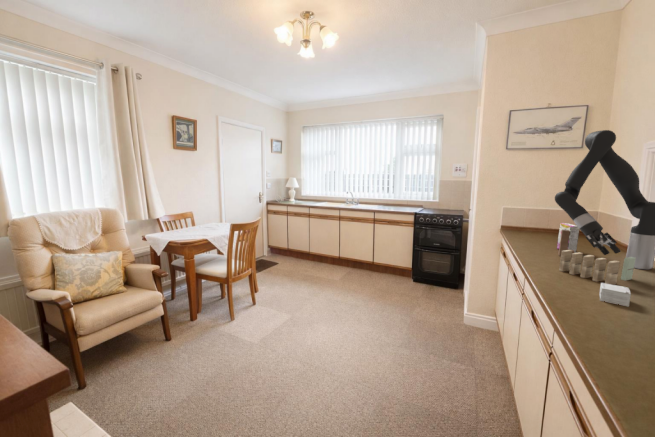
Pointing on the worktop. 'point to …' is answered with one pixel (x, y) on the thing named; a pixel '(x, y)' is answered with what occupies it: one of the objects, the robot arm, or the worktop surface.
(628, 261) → the domino
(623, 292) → the small box
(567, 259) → the domino
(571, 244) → the candy bar box
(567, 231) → the wooden block
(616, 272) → the domino
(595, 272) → the domino
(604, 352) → the worktop surface
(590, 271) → the domino
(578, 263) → the domino
